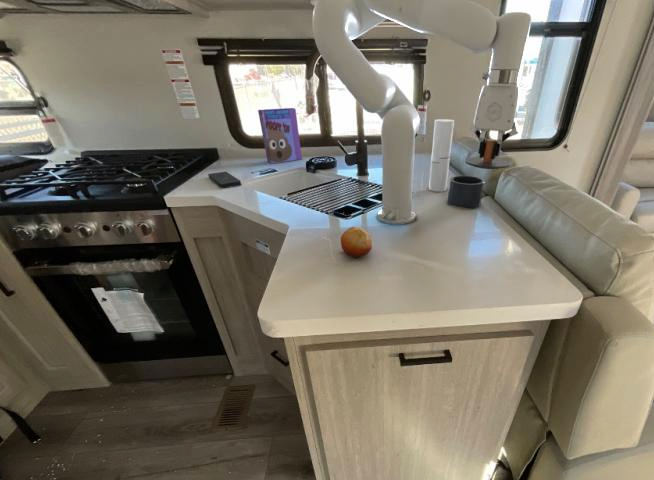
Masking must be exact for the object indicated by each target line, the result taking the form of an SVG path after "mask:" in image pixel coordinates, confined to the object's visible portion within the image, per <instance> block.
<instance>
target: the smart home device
mask: <svg viewBox="0 0 654 480" xmlns="http://www.w3.org/2000/svg"><path fill="white" fill-rule="evenodd" d="M207 175H208V178H209V179H210V180H211V181H212V182H213V183H215V184H216V185H217V186H218V187H219V188H221V189H225V188H226V189H227V188H231V187H232V188H233V187H239V186H241V185H242V182H241V180H240V179H239V178H237V177H235V176H234V175H232V173H229V171H219V172H211V173H208V174H207Z"/></svg>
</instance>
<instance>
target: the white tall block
mask: <svg viewBox="0 0 654 480" xmlns="http://www.w3.org/2000/svg"><path fill="white" fill-rule="evenodd" d="M454 126H455V120H454V119H449V118H448V119H446V118H437V119H434V125H433V136H432V148H431V158H430V160H431V161H430V169H429V179H428V181H429V182H428V190H429V191H430V192H437V193H439V192H445V191H446V190H447V184H448V176H449V168H450V160H451V153H452V152H451V150H452V144H453V135H454V128H455V127H454Z"/></svg>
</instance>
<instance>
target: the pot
mask: <svg viewBox="0 0 654 480" xmlns="http://www.w3.org/2000/svg"><path fill="white" fill-rule="evenodd" d="M484 185H485V180H484V179H483V178H481V177H478V176H473V175H455V176H452V177H450V179H449V185H448V186H449V188H448V196H447V204H448V205H449V206H451V207H452V206H453V207H458V208H463V209H469V210H473V209H477V208H479V207H480V206H481V201H482V196H483V192H484Z"/></svg>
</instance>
